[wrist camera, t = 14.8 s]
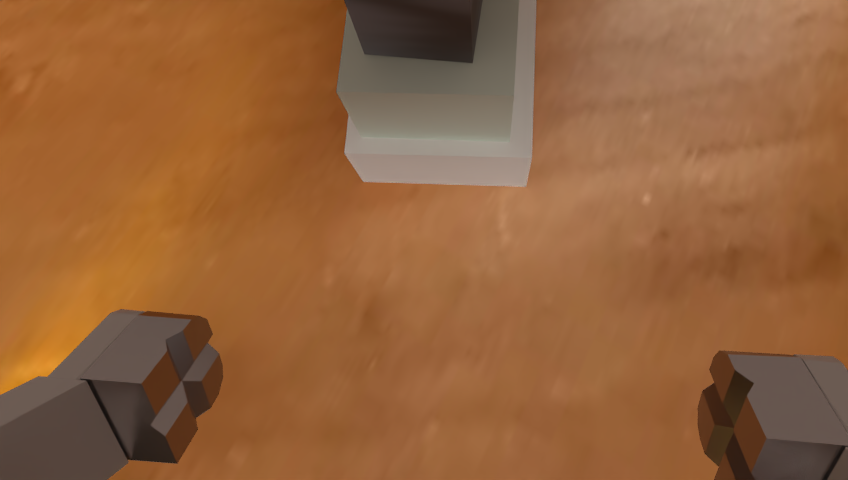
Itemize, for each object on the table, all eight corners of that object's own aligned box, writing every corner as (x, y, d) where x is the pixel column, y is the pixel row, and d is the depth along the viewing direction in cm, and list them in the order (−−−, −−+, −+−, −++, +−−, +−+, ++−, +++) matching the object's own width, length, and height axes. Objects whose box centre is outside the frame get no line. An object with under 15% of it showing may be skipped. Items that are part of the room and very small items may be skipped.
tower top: (516, 8, 30) (522, -61, 26) (509, 141, 29) (513, 95, 24) (376, 8, 31) (356, -58, 27) (361, 137, 30) (336, 91, 25)
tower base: (530, 42, 35) (536, -10, 30) (525, 188, 33) (531, 157, 28) (378, 42, 37) (362, -8, 32) (364, 183, 34) (344, 153, 30)
